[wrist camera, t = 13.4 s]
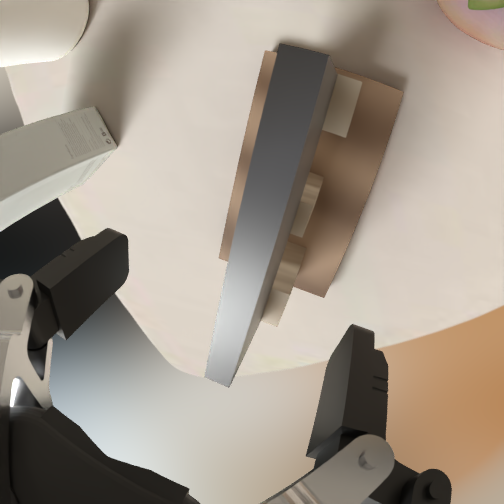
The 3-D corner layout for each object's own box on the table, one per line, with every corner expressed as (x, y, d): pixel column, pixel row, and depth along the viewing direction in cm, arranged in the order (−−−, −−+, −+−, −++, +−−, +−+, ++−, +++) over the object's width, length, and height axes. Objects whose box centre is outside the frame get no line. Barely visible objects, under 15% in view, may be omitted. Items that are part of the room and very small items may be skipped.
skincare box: (96, 104, 25) (-31, 137, 13) (121, 149, 27) (-6, 202, 15) (62, 149, 29) (-42, 192, 17) (83, 189, 31) (-19, 245, 19)
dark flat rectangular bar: (307, 66, 12) (279, 43, 7) (337, 74, 12) (328, 55, 7) (240, 313, 21) (204, 377, 16) (260, 321, 21) (229, 387, 16)
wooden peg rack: (270, 53, 19) (230, 32, 12) (400, 92, 18) (425, 87, 11) (225, 250, 29) (184, 299, 22) (325, 288, 27) (312, 350, 20)
